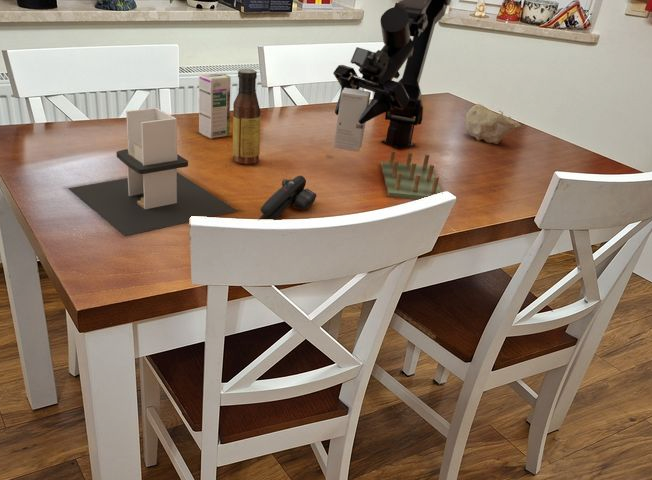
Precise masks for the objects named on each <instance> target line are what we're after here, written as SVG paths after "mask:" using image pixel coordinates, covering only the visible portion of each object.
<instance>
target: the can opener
mask: <svg viewBox="0 0 652 480" xmlns="http://www.w3.org/2000/svg"><path fill="white" fill-rule="evenodd" d="M306 179H307V178H305V177H304V176H303V175H297V176H295V177H294V178H293V179H288V178H286V179H285V178H283V179H282V180H281V186H282V187H280V188H279V189H277V191H276V192H273V194H272V195H271V196H270V197H269V198H268V199H267V200H266V201H265V202H264V203H263V205H261V207H260V209H259V210H260V212H261V213H262V215H261V216H260V217H259V219H275V220H276V219H278V218H279V217H280V216H281V215H282V214H283V213H284V211H286V209H287V208H288V207H290V206H292V205H293V207H292V208H294V209H297V210H301V211H306V210H308V209H309V208H310V207H311V206H312V205H313V204H314V202H315V201H316V199H317V193H316V192H314V191H312V190H311V189H309V188H305V187H306V184H307V180H306ZM259 219H258V220H259Z"/></svg>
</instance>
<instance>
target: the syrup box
mask: <svg viewBox="0 0 652 480" xmlns="http://www.w3.org/2000/svg"><path fill="white" fill-rule="evenodd" d="M231 82H232V80H231V76H229V75H227V74H226V73H223V72H219V71H215V72H209V73H208V72H207V73H199V74H198V132H199V133H200V134H201V135H202V136H204V137H206V138H208V139H216V138H223V137H224V138H225V137H230V126H231V125H230V124H231V123H230V121H231Z"/></svg>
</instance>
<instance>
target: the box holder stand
mask: <svg viewBox="0 0 652 480" xmlns="http://www.w3.org/2000/svg"><path fill="white" fill-rule="evenodd" d="M125 117H126V134H127V135H126V137H127V149H121V150H117V151H116V158H117V159H119V161H121V162H122V163H123V164H124V165H125V166H126V168H127V169H126V170H127V177H125V178H119V179H112V180H107V181H101V182H97V183H95V182H94V183H90V184H84V185H78V186H72V187H67V189H68V190H69V191H70V192H71V193H73V194H74V195H76V196H77V198H79V199H80V200H81V201H82V202H84V203H85V204H86V205H87V206H89V207H90V208H91V209H92V210H93V211H95V212H96V213H97V214H98V215H100V216H101V217H102V218H103V219H104V220H105V221H106V222H107V223H109V224H110V226H112V227H114V229H116V230H117V231H118V232H120V233H121V234H122V235H123V236H125V237H127V236H131V235H132V236H133V235H137V234H140V233H145V232H149V231H154V230H158V229H163V228H168V227H173V226H176V225H177V226H178V225H181V224H185V223H190V222H189V218H190V217H191V216H207V217H209V218H213V217H217V216H221V215H225V214H231V213H235V212H239V210H238V209H236V208H234V207H233V206H231V204H228V203H227V202H225V201H224V200H222V199H220V198H218V197H217V196H216V195H214V194H213V193H211V192H209V191H208V190H206V189H205V188H203V187H202V186H200V185H198V184H197V183H195V182H194V181H191V180H190V179H189V178H187V177H186V176H184V175H183V174H181V173H179V172H178V171H177V169H181V168H182V169H183V168H187V167H189V160H187V159H186V158H185V157H183V156H181V155H179V154H178V118H176V117H175V116H173V115H171V114H169V113H167V112H165V111H163V110H162V109H160V108H157V107H151V108H150V107H149V108H141V109H132V110H126V111H125Z"/></svg>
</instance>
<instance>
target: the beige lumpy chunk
mask: <svg viewBox="0 0 652 480" xmlns="http://www.w3.org/2000/svg"><path fill="white" fill-rule="evenodd" d="M464 124H465V128H466V130H467V132H468V135H470V136H471V137H473V138H475V139H476V140H477V141H478V142H480V141H481V140H483V141H485V143H487V144H494V145H498V144H499V143H500V142H501V140H502V139H504V137H506V136H507V135H508V134H509V133H512V132H513V131H516V130H519V129H520V128H521V127H522V124H520V123H519V122H518V121H517V120H513V119H512V117H511V116H506V115H505V114H504V111H501V110H498V113H497V112H494V111H492V110H491V109H489V108H487V107H486V106H485V105H482V104H481V103H476V104H475V105H473V106H472V107H471V108H469V110H468V111H467V112H466V115H465V121H464Z"/></svg>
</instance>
